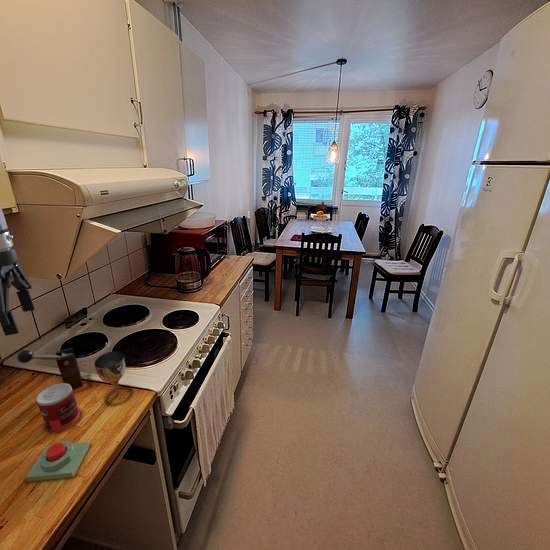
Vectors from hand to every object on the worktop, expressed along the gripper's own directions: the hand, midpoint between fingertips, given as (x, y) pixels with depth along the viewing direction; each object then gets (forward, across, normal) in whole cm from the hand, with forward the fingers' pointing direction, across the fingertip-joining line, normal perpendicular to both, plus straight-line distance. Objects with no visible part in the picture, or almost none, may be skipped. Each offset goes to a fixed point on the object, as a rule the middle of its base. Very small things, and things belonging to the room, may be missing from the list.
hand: (21, 321), depth 81 cm
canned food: (+28, -14, -7) cm, 32 cm away
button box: (+28, -28, -9) cm, 40 cm away
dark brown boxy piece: (+28, +1, -7) cm, 29 cm away
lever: (+15, 0, -2) cm, 15 cm away
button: (+24, -28, -9) cm, 38 cm away
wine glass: (+28, -10, -21) cm, 36 cm away
